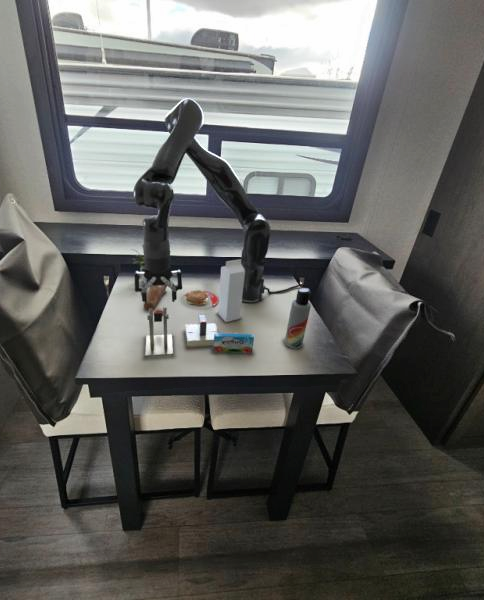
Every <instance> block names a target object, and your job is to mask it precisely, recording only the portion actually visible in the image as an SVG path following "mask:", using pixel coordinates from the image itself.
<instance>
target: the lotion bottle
mask: <svg viewBox="0 0 484 600" xmlns="http://www.w3.org/2000/svg"><path fill="white" fill-rule="evenodd" d="M311 293H312V292H311V289H310V288H308V287H300V288H298V289H297V292H296V298H295V299H294V300H293V301H292V302H291V305H290V306H291V307H290V312H289V317H288V321H287V327H286V332H285V335H284V336H285V337H284V344H285V345H286V346H287V347H288V348H290V349H300V348H301V347H302V346H303V343H304V338H305V334H306V330H307V326H308V321H309V317H310V312H311V307H312V305H311V303H310V297H311Z"/></svg>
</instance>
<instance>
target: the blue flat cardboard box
mask: <svg viewBox="0 0 484 600" xmlns="http://www.w3.org/2000/svg"><path fill="white" fill-rule="evenodd" d="M254 341H255V336H254V334H252V333H215V334H214V343H213V345H212V351H219V352H220V351H221V352H222V351H223V352H224V351H225V352H226V354H252V353H253V349H254Z"/></svg>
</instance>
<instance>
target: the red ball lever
mask: <svg viewBox="0 0 484 600" xmlns="http://www.w3.org/2000/svg"><path fill="white" fill-rule="evenodd" d="M162 322H163V309H162V308H155V309H154V310H153V323H162Z"/></svg>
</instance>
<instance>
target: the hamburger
mask: <svg viewBox="0 0 484 600" xmlns="http://www.w3.org/2000/svg"><path fill="white" fill-rule="evenodd" d="M183 296H184V297H186V303H187V304H189V305H194V306H195V305H196V306H201V305H208V304H209V298H210V301H211V305H212V306H213V307H214V306H216V305H217V304H218V303H219V297H218V296H217V295H216V294H213V293H211V292H208V291H203V290H201V289H195V290H191V291H189V292H188V293H186V294H184V295H183Z"/></svg>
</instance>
